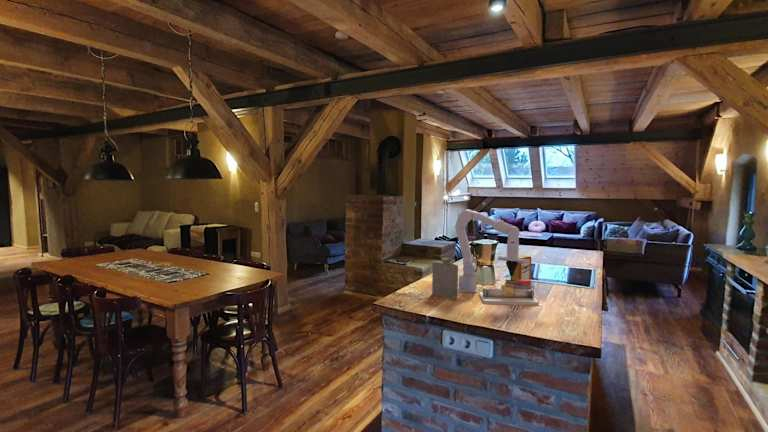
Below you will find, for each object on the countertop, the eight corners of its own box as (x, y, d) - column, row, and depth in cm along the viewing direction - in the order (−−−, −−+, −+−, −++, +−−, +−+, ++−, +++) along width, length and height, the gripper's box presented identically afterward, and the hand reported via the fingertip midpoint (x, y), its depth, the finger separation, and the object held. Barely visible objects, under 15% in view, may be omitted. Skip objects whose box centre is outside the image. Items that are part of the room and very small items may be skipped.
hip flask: (430, 294, 203) (431, 256, 201) (436, 292, 206) (436, 255, 204) (454, 301, 191) (455, 261, 189) (459, 299, 193) (460, 260, 192)
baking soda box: (519, 285, 221) (520, 257, 220) (510, 282, 227) (511, 255, 226) (530, 282, 226) (531, 255, 225) (521, 280, 232) (522, 254, 231)
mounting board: (483, 303, 188) (483, 300, 187) (479, 295, 202) (479, 292, 201) (538, 305, 185) (538, 302, 185) (530, 296, 199) (530, 293, 199)
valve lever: (506, 283, 191) (506, 280, 191) (504, 282, 194) (505, 279, 194) (531, 284, 191) (531, 280, 191) (529, 282, 193) (529, 279, 193)
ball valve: (484, 299, 191) (484, 284, 191) (482, 295, 197) (482, 281, 197) (534, 300, 189) (534, 285, 189) (530, 297, 195) (531, 282, 194)
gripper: (496, 249, 201) (495, 274, 203) (524, 252, 193) (523, 279, 194) (501, 247, 207) (500, 272, 208) (528, 250, 198) (527, 276, 199)
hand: (511, 275), depth 201 cm, fingers closed
